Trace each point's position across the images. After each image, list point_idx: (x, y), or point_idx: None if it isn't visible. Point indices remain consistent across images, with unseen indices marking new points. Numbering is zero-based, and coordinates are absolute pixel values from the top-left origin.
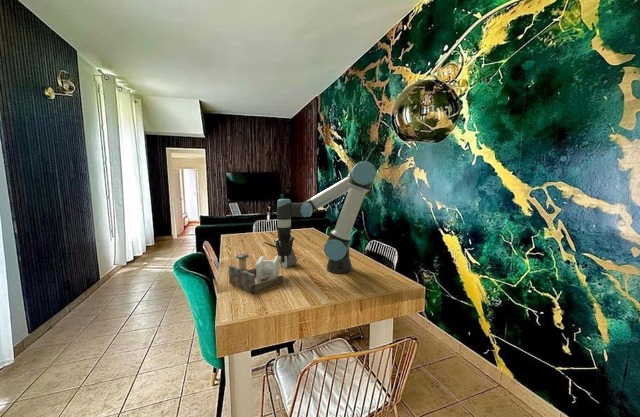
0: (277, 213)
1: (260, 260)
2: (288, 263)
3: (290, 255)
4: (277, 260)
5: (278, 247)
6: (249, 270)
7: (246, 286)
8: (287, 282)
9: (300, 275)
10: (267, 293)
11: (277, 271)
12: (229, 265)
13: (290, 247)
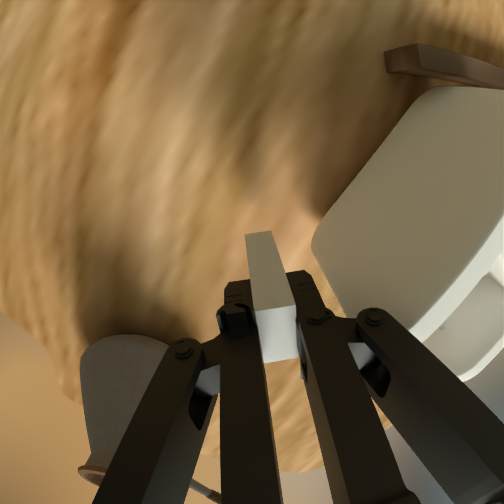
0: None
1: None
2: (158, 347)
3: (123, 398)
4: (495, 183)
5: (489, 419)
6: None
7: None
8: (348, 46)
9: (166, 108)
10: (489, 35)
11: (430, 135)
12: None
13: (156, 445)
